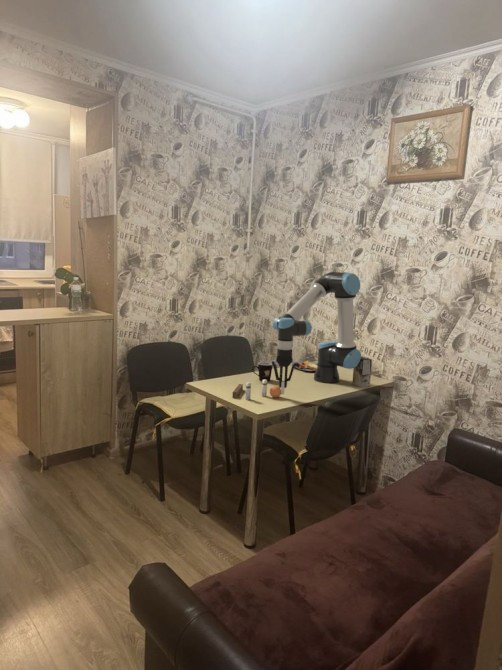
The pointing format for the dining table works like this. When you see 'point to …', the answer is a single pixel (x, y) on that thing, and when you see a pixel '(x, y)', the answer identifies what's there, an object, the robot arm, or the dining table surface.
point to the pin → (264, 388)
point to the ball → (275, 391)
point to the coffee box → (362, 372)
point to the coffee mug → (264, 370)
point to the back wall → (237, 390)
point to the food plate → (307, 365)
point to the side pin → (248, 390)
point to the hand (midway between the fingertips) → (282, 393)
